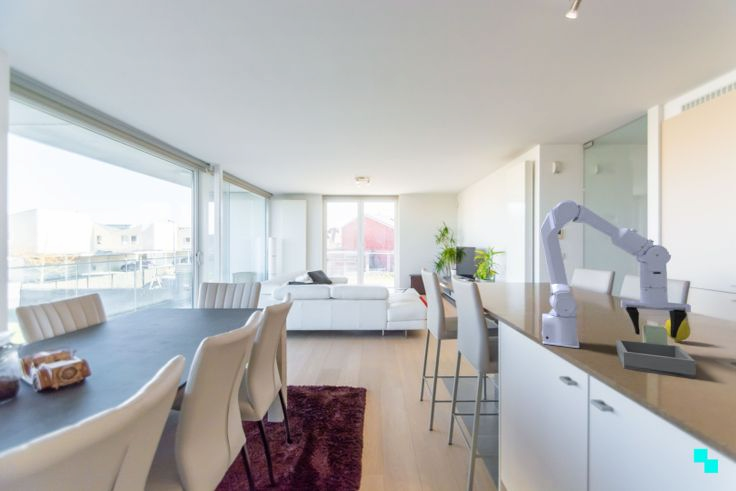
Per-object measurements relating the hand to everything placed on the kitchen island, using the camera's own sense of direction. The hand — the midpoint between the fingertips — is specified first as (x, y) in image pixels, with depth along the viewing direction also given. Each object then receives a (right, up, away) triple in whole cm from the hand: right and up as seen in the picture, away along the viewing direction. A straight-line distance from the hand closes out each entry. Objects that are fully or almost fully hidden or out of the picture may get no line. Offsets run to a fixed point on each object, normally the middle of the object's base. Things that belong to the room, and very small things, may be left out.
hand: (655, 335), depth 89 cm
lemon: (+15, -5, +9) cm, 18 cm away
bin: (-9, -5, -9) cm, 14 cm away
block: (0, -5, 0) cm, 5 cm away
